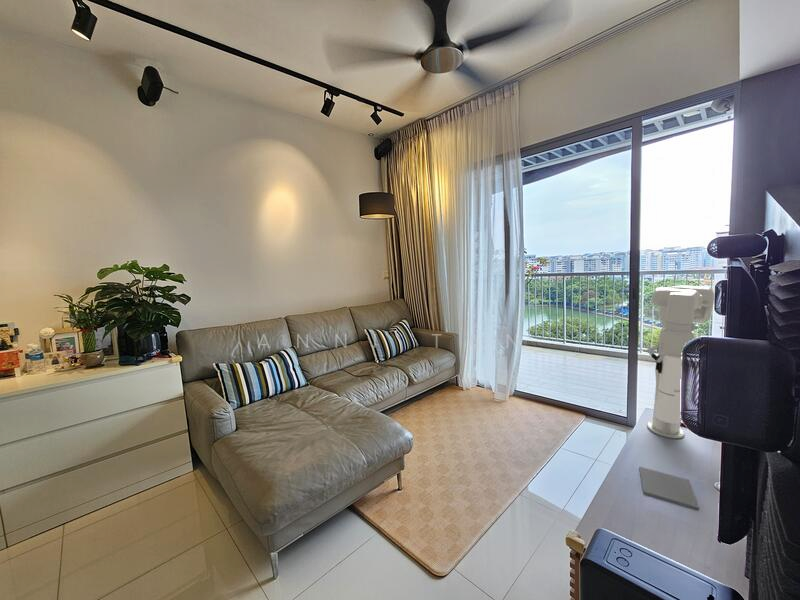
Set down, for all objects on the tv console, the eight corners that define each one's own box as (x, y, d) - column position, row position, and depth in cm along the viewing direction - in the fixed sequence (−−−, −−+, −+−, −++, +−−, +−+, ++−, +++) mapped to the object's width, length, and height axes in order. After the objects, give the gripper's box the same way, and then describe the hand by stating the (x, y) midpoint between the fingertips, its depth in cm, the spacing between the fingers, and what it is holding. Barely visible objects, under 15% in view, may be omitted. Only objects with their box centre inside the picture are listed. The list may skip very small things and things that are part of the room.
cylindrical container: (684, 424, 119) (692, 358, 114) (661, 422, 120) (669, 357, 116) (672, 414, 126) (679, 351, 121) (651, 412, 127) (658, 351, 123)
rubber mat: (639, 468, 121) (639, 466, 121) (688, 481, 114) (688, 479, 114) (643, 493, 109) (643, 491, 109) (698, 509, 102) (699, 507, 102)
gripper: (707, 327, 115) (701, 374, 118) (646, 322, 124) (642, 366, 127) (714, 332, 109) (707, 382, 112) (649, 326, 118) (644, 373, 121)
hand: (672, 373), depth 120 cm, fingers closed on cylindrical container, 7 cm apart
